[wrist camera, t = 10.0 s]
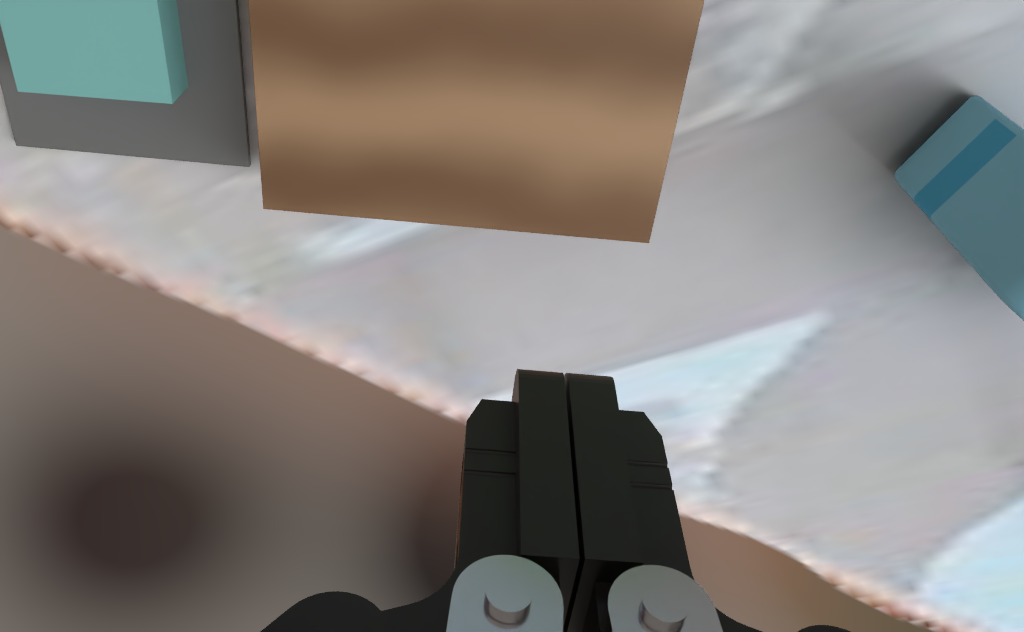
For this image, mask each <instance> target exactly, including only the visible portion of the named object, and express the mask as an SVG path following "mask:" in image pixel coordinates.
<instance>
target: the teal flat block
mask: <svg viewBox="0 0 1024 632" xmlns="http://www.w3.org/2000/svg"><path fill="white" fill-rule="evenodd" d="M0 25H1V28H2V32H3V36H4V40H5V44H6V48H7V52H8V56H9V59H10V63H11V67H12V71H13V75H14V79H15V83H16V86H17V90H18V92H29V93H41V94H54V95H66V96H79V97H91V98H104V99H116V100H129V101H141V102H154V103H166V104H173V103H174V102H175V101H176V100H177V99H178V98H179V96H180V95H181V94H182V93H183V92H184V91H185V90H186V89H187V88H188V81H187V73H186V66H185V59H184V52H183V44H182V37H181V30H180V23H179V16H178V8H177V1H176V0H0Z"/></svg>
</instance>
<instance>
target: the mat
mask: <svg viewBox="0 0 1024 632" xmlns="http://www.w3.org/2000/svg"><path fill="white" fill-rule="evenodd" d="M176 1H177V8H178V16H179V23H180V30H181V37H182V44H183V52H184V59H185V66H186V73H187V81H188V88H187V89H186V90H185V91H184V92H183V93H182V94H181V95H180V96H179V98H178V99H177V100H176V101H175V102H174V103H173V104H166V103H154V102H141V101H129V100H116V99H104V98H91V97H79V96H66V95H54V94H41V93H29V92H18V90H17V86H16V83H15V79H14V75H13V71H12V67H11V63H10V59H9V56H8V52H7V48H6V44H5V40H4V36H3V32H2V28H1V25H0V83H1V87H2V91H3V95H4V99H5V103H6V107H7V111H8V115H9V119H10V123H11V127H12V131H13V135H14V139H15V143H16V146H27V147H38V148H49V149H60V150H71V151H81V152H92V153H103V154H114V155H125V156H136V157H147V158H157V159H168V160H179V161H190V162H201V163H212V164H223V165H234V166H244V167H249V166H250V165H251V161H250V148H249V136H248V123H247V111H246V98H245V86H244V73H243V61H242V48H241V36H240V24H239V11H238V0H176Z"/></svg>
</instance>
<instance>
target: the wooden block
mask: <svg viewBox="0 0 1024 632" xmlns="http://www.w3.org/2000/svg"><path fill="white" fill-rule="evenodd" d="M248 4H249V18H250V32H251V45H252V59H253V72H254V86H255V100H256V113H257V127H258V141H259V154H260V168H261V182H262V195H263V209H272V210H283V211H294V212H305V213H317V214H328V215H339V216H350V217H362V218H373V219H384V220H395V221H407V222H418V223H429V224H440V225H452V226H463V227H474V228H485V229H497V230H508V231H519V232H530V233H542V234H553V235H564V236H575V237H587V238H598V239H609V240H620V241H632V242H643V243H649V240H650V236H651V232H652V227H653V223H654V218H655V214H656V210H657V205H658V201H659V197H660V192H661V188H662V183H663V179H664V175H665V170H666V166H667V162H668V157H669V153H670V148H671V144H672V140H673V135H674V131H675V126H676V122H677V118H678V113H679V109H680V105H681V100H682V96H683V91H684V87H685V83H686V78H687V74H688V70H689V65H690V61H691V56H692V52H693V48H694V43H695V39H696V35H697V30H698V26H699V21H700V17H701V13H702V8H703V4H704V0H248Z"/></svg>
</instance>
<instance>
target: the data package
mask: <svg viewBox="0 0 1024 632" xmlns="http://www.w3.org/2000/svg"><path fill="white" fill-rule="evenodd" d="M894 176H895V179H896V181H897V182H898V183H899V184H900V186H901V187H902V188H903V189H904V190H905V191H906V192H907V193H908V195H909V196H910V197H911V198H912V199H913V200H914V201H915V203H916V204H917V205H918V206H919V207H920V208H921V209H922V210H923V212H924V213H925V214H926V215H927V216H928V217H929V218H930V220H931V221H932V222H933V223H934V224H935V225H936V226H937V228H938V229H939V230H940V231H941V232H942V233H943V234H944V235H945V237H946V238H947V239H948V240H949V241H950V242H951V243H952V245H953V246H954V247H955V248H956V249H957V250H958V251H959V252H960V254H961V255H962V256H963V257H964V258H965V259H966V260H967V262H968V263H969V264H970V265H971V266H972V267H973V268H974V270H975V271H976V272H977V273H978V274H979V275H980V276H981V277H982V279H983V280H984V281H985V282H986V283H987V284H988V285H989V287H990V288H991V289H992V290H993V291H994V292H995V293H996V294H997V296H998V297H999V298H1000V299H1001V300H1002V301H1003V302H1004V303H1005V304H1006V305H1007V306H1008V307H1009V308H1010V309H1012V310H1013V311H1014V312H1015V313H1016V314H1017V315H1018V316H1019V317H1020V318H1021V319H1023V320H1024V130H1023V129H1022V128H1021V127H1019V126H1018V125H1017V124H1015V123H1014V122H1013V121H1011V120H1010V119H1009V118H1007V117H1006V116H1005V115H1003V114H1002V113H1001V112H1000V111H998V110H997V109H996V108H994V107H993V106H992V105H990V104H989V103H988V102H986V101H985V100H984V99H982V98H981V97H979V96H972V97H970V98H969V99H968V100H967V101H966V102H965V103H964V104H963V105H962V106H961V107H960V108H959V109H958V110H957V111H956V112H955V113H954V114H953V115H952V116H951V117H950V118H949V119H948V120H947V121H946V122H945V123H944V124H943V125H942V126H941V127H940V128H939V129H938V130H937V131H936V132H935V133H934V134H933V135H932V136H931V137H930V138H929V139H928V140H927V141H926V142H925V143H924V144H923V145H922V146H921V147H920V148H919V149H918V150H917V151H916V152H915V153H914V154H913V155H911V156H910V157H909V158H908V159H907V160H906V161H905V162H904V163H903V164H902V165H901V166H900V167H899V168H898V169H897V170H896V172H895V174H894Z"/></svg>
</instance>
